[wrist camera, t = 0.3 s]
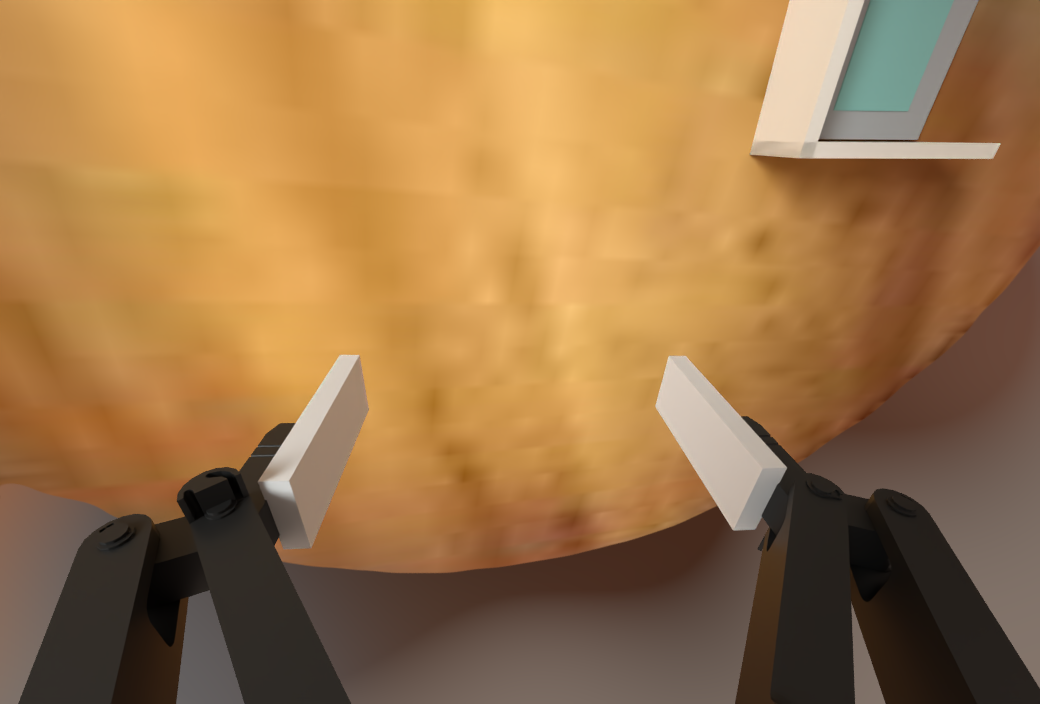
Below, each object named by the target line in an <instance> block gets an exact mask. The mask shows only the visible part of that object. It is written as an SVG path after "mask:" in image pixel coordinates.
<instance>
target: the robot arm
mask: <svg viewBox="0 0 1040 704" xmlns="http://www.w3.org/2000/svg"><path fill="white" fill-rule="evenodd" d="M655 407H656V409H657V410H658V412H659V413H660V415H661V416H662V418H663V420H664V421H665V423H666V424H667V426H668V428H669V429H670V431H671V432H672V434H673V436H674V437H675V439H676V440H677V442H678V443H679V445H680V447H681V448H682V450H683V451H684V453H685V455H686V456H687V458H688V459H689V461H690V463H691V464H692V466H693V467H694V469H695V470H696V472H697V474H698V475H699V477H700V478H701V480H702V482H703V483H704V485H705V486H706V488H707V490H708V491H709V493H710V494H711V496H712V497H713V499H714V501H715V502H716V504H717V505H718V507H719V509H720V510H721V512H722V513H723V515H724V517H725V518H726V520H727V521H728V523H729V524H730V526H731V528H732V529H733V530H752V529H753V530H754V529H756V527H757V525H758V523H759V521H760V519H761V518H762V517H763V518H764V520H765V521H766V522H767V524H768V525H769V529H768V530H767V532H766V534H765V536H764V538H763V540H762V542H761V543H760V545H759V547H758V550H760V551H762V549H763V551H762V557H761V562H760V568H759V574H758V579H757V585H756V590H755V596H754V601H753V607H752V612H751V618H750V623H749V629H748V634H747V640H746V646H745V651H744V657H743V662H742V668H741V673H740V679H739V685H738V691H737V696H736V701H735V704H855V691H854V665H853V641H852V640H853V639H852V613H851V602H852V605H853V608H854V611H855V614H856V617H857V620H858V623H859V626H860V629H861V632H862V635H863V638H864V641H865V644H866V647H867V649H868V653H869V655H870V658H871V661H872V664H873V667H874V670H875V673H876V676H877V679H878V682H879V685H880V688H881V691H882V694H883V697H884V700H885V703H886V704H1040V688H1039V687H1038V685H1037V683H1036V682H1035V681H1034V679H1033V677H1032V676H1031V674H1030V673H1029V671H1028V669H1027V668H1026V666H1025V664H1024V663H1023V661H1022V660H1021V658H1020V657H1019V655H1018V653H1017V652H1016V650H1015V649H1014V647H1013V645H1012V644H1011V642H1010V641H1009V639H1008V637H1007V636H1006V634H1005V633H1004V631H1003V630H1002V628H1001V626H1000V625H999V623H998V622H997V620H996V618H995V617H994V615H993V614H992V612H991V611H990V609H989V608H988V606H987V604H986V603H985V601H984V600H983V598H982V596H981V595H980V593H979V591H978V590H977V588H976V587H975V585H974V584H973V582H972V580H971V579H970V577H969V576H968V574H967V572H966V571H965V569H964V568H963V566H962V565H961V563H960V561H959V560H958V558H957V557H956V555H955V554H954V552H953V550H952V549H951V547H950V545H949V544H948V543H947V541H946V539H945V538H944V536H943V534H942V533H941V531H940V530H939V528H938V526H937V525H936V523H935V522H934V520H933V519H932V517H931V516H930V514H929V513H928V512H927V510H925V508H924V507H923V506H922V505H920V504H919V503H918V502H916V501H915V500H914V499H912V498H910V497H908V496H907V495H904V494H902V493H899V492H896V491H894V490H888V489H877V490H876V491H875V492H874V493H873V494H872V496H871V497H870V499H865V498H860V497H856V496H852V495H847V494H844V492H843V491H842V490H841V489H840V488H839V487H838V486H837V485H835V484H834V483H832V482H831V481H829V480H827V479H825V478H823V477H821V476H818V475H815V474H812V473H806V472H805V471H804V470H803V469H802V468H801V467H800V466H799V465H798V464H797V463H796V461H795V460H794V459H793V458H792V457H791V456H790V455H789V454H788V453H787V452H786V451H785V450H784V449H783V448H782V447H781V446H780V445H778V443H777V442H776V440H775V439H774V438H773V437H770V434H769V433H768V432H767V431H766V430H765V429H764V428H763V427H762V426H761V425H760V424H758V423H757V422H755V421H754V420H752V419H751V418H749V417H748V416H742V417H741V416H740V415H739V414H738V413H737V412H736V411H735V410H734V409H733V408H732V407H731V405H730V404H729V403H728V402H727V401H726V400H725V399H724V398H723V397H722V396H721V394H720V393H719V392H718V391H717V390H716V389H715V388H714V387H713V386H712V385H711V383H710V382H709V381H708V380H707V379H706V378H705V377H704V376H703V375H702V374H701V372H700V371H699V370H698V369H697V368H696V367H695V366H694V365H693V364H692V363H691V361H690V360H689V359H688V358H687V357H686V356H669V357H668V361H667V365H666V369H665V372H664V376H663V380H662V383H661V387H660V391H659V395H658V398H657V402H656V406H655ZM368 410H369V408H368V402H367V396H366V390H365V384H364V379H363V373H362V367H361V361H360V355H340V356H339V357H338V359H337V360H336V362H335V363H334V365H333V366H332V368H331V370H330V371H329V373H328V374H327V376H326V377H325V379H324V380H323V382H322V383H321V385H320V387H319V388H318V390H317V391H316V393H315V394H314V396H313V397H312V399H311V400H310V402H309V403H308V405H307V407H306V408H305V410H304V411H303V413H302V414H301V416H300V417H299V419H298V420H297V422H296V423H280V424H279V425H277V426H276V427H275V428H273V429H272V430H271V431H269V432H268V433H267V434H266V435H265V436H264V438H263V439H262V441H261V442H260V443H259V445H258V448H256V449H255V450H254V452H253V453H252V454H251V457H249V459H248V460H247V461H246V463H245V464H244V465H243V467H242V468H241V470H240V471H237V470H236V469H234V468H229V467H224V468H215V469H212V470H209V471H206V472H203V473H201V474H200V475H198V476H196V477H194V478H192V479H191V480H190V481H189V482H187V483H186V484H185V485H184V486H183V487H182V488H181V490H180V491H179V493H178V496H177V502H178V504H179V506H180V508H181V509H182V511H183V513H184V515H185V517H182V518H178V519H174V520H171V521H167V522H163V523H159V524H154V523H153V521H152V519H151V518H149V517H148V516H146V515H143V514H133V515H128V516H123V517H120V518H118V519H116V520H113V521H111V522H108V523H107V524H105V525H103V526H102V527H100V528H98V529H97V530H96V531H94V532H93V533H92V534H91V535H89V537H87V538H86V539H85V540H84V541H83V543H82V545H81V546H80V547H79V549H78V551H77V554H76V557H75V559H74V562H73V564H72V567H71V570H70V572H69V575H68V577H67V580H66V582H65V585H64V588H63V590H62V593H61V595H60V598H59V601H58V603H57V605H56V608H55V611H54V613H53V616H52V618H51V621H50V623H49V626H48V629H47V631H46V634H45V636H44V639H43V642H42V644H41V647H40V649H39V652H38V655H37V657H36V660H35V662H34V665H33V667H32V670H31V672H30V675H29V678H28V680H27V683H26V685H25V688H24V690H23V693H22V696H21V698H20V701H19V703H18V704H176V699H177V691H178V682H179V674H180V665H181V656H182V648H183V640H184V632H185V623H186V615H187V606H188V597H190V596H193V595H196V594H199V593H202V592H205V591H208V590H210V593H211V596H212V599H213V602H214V606H215V609H216V612H217V615H218V619H219V622H220V625H221V628H222V632H223V635H224V638H225V641H226V645H227V648H228V651H229V654H230V658H231V661H232V664H233V667H234V671H235V674H236V677H237V680H238V683H239V687H240V690H241V693H242V696H243V700H244V703H245V704H351V702H350V700H349V699H348V696H347V694H346V692H345V690H344V688H343V686H342V684H341V682H340V680H339V678H338V676H337V674H336V672H335V670H334V668H333V666H332V664H331V661H330V659H329V657H328V655H327V653H326V652H325V649H324V647H323V645H322V643H321V641H320V639H319V637H318V635H317V633H316V631H315V629H314V627H313V625H312V622H311V621H310V618H309V616H308V614H307V612H306V610H305V608H304V606H303V604H302V602H301V600H300V598H299V596H298V594H297V592H296V590H295V588H294V586H293V583H292V582H291V580H290V577H289V575H288V573H287V571H286V569H285V567H284V565H283V563H282V561H281V559H280V557H279V555H278V553H277V551H276V549H275V547H274V545H275V543H276V541H277V539H278V538H280V541H281V544H282V546H283V549H302V548H311V547H312V545H313V542H314V540H315V538H316V535H317V533H318V530H319V528H320V526H321V523H322V521H323V518H324V516H325V514H326V511H327V509H328V506H329V504H330V502H331V499H332V497H333V494H334V492H335V490H336V487H337V485H338V482H339V480H340V478H341V475H342V473H343V470H344V468H345V465H346V463H347V461H348V458H349V456H350V453H351V451H352V449H353V446H354V444H355V441H356V439H357V437H358V434H359V432H360V429H361V427H362V425H363V422H364V420H365V417H366V415H367V413H368Z"/></svg>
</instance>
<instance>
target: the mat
mask: <svg viewBox="0 0 1040 704" xmlns="http://www.w3.org/2000/svg"><path fill="white" fill-rule="evenodd" d="M978 1H979V0H864V3H863V6H862V9H861V12H860V15H859V18H858V21H857V24H856V28H855V31H854V34H853V37H852V40H851V43H850V46H849V49H848V52H847V55H846V58H845V61H844V64H843V67H842V70H841V73H840V76H839V79H838V82H837V85H836V88H835V91H834V94H833V97H832V100H831V103H830V106H829V109H828V112H827V115H826V118H825V121H824V124H823V128H822V131H821V134H820V137H819V139H876V140H918V138H919V135H920V133H921V131H922V128H923V126H924V124H925V122H926V119H927V117H928V115H929V112H930V110H931V108H932V106H933V103H934V101H935V99H936V96H937V94H938V92H939V90H940V87H941V85H942V83H943V80H944V78H945V76H946V74H947V71H948V69H949V67H950V64H951V62H952V60H953V58H954V55H955V53H956V51H957V48H958V46H959V44H960V42H961V39H962V37H963V35H964V32H965V30H966V28H967V26H968V23H969V21H970V19H971V17H972V14H973V12H974V10H975V7H976V5H977V3H978Z"/></svg>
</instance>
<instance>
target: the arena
mask: <svg viewBox="0 0 1040 704" xmlns="http://www.w3.org/2000/svg"><path fill="white" fill-rule="evenodd" d="M863 3H864V0H790V1H789V5H788V9H787V13H786V17H785V21H784V25H783V28H782V32H781V36H780V40H779V44H778V48H777V52H776V55H775V59H774V63H773V67H772V71H771V75H770V79H769V82H768V86H767V90H766V94H765V98H764V102H763V105H762V109H761V113H760V117H759V121H758V125H757V129H756V132H755V136H754V140H753V144H752V148H751V152H750V155H762V156H775V157H788V158H875V159H993V157H994V155H995V153H996V152H997V150H998V148H999V146H1000V144H1001V143H951V142H839V141H818V140H819V137H820V134H821V131H822V128H823V124H824V121H825V118H826V115H827V112H828V109H829V106H830V103H831V100H832V97H833V94H834V91H835V88H836V85H837V82H838V79H839V76H840V73H841V70H842V67H843V64H844V61H845V58H846V55H847V52H848V49H849V46H850V43H851V40H852V37H853V34H854V31H855V28H856V24H857V21H858V18H859V15H860V12H861V9H862V6H863Z"/></svg>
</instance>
